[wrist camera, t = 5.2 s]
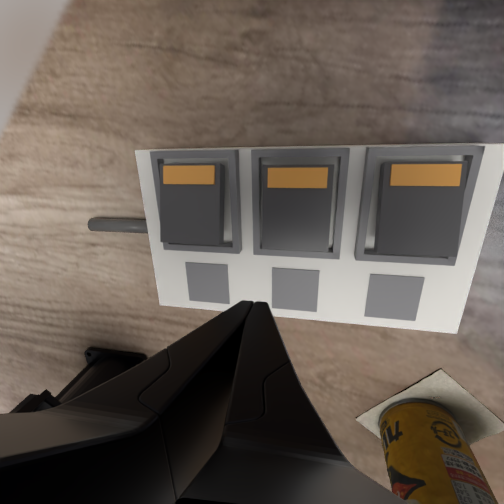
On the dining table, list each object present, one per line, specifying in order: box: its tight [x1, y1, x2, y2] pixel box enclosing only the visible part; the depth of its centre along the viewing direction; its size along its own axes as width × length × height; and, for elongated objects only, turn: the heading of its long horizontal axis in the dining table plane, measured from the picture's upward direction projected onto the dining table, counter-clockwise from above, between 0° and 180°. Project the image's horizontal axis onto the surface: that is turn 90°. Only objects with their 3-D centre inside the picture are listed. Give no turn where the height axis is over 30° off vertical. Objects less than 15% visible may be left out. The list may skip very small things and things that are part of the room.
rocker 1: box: [160, 163, 225, 245], centre depth 17 cm, size 4×4×1 cm
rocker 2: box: [374, 161, 468, 257], centre depth 14 cm, size 4×4×1 cm
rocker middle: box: [262, 164, 334, 252], centre depth 16 cm, size 4×4×1 cm
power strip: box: [88, 143, 504, 334], centre depth 19 cm, size 26×11×3 cm, turn 91°
